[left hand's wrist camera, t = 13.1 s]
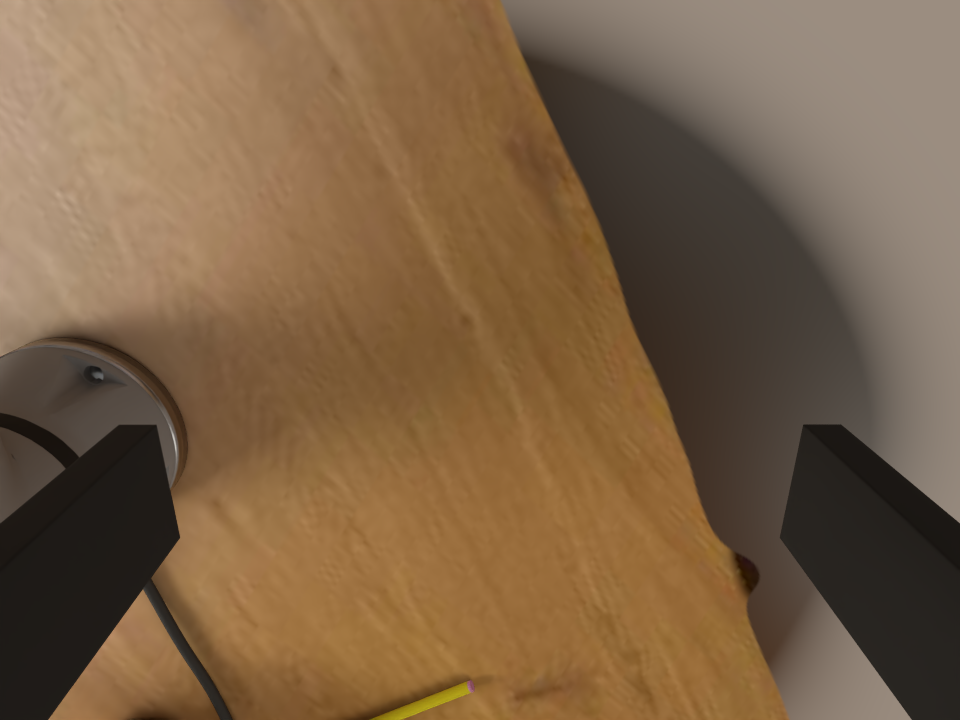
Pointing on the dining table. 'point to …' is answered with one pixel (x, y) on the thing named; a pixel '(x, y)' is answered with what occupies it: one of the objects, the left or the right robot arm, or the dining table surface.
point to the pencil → (428, 702)
